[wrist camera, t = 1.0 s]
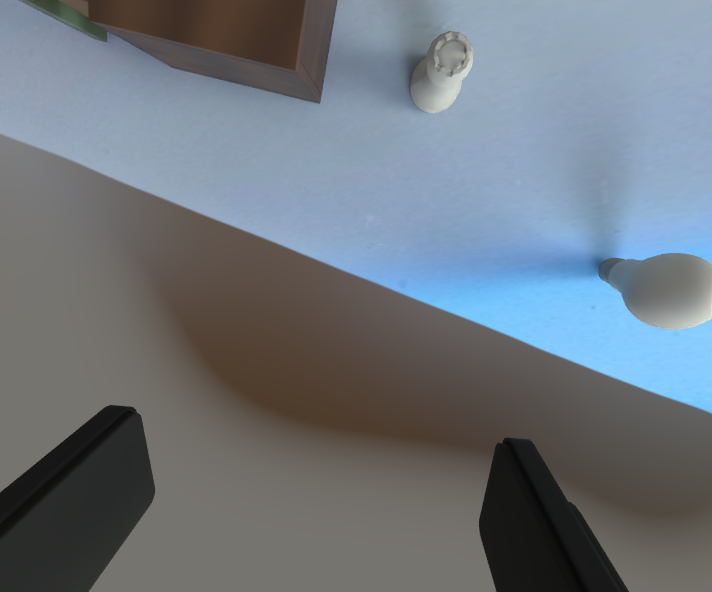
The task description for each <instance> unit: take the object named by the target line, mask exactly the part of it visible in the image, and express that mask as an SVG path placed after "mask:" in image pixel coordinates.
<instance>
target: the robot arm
mask: <svg viewBox="0 0 712 592" xmlns="http://www.w3.org/2000/svg"><path fill="white" fill-rule="evenodd" d="M154 495H155V486H154V480H153V475H152V470H151V465H150V460H149V455H148V449H147V444H146V439H145V434H144V429H143V423H142V418H141V415H140V414H138V413H137V412H136V409H134V407H126V406H115V405H110V406H107V407H105V408H104V409H102V410H101V411H100V412H99V413H97V414H96V415H95V416H94V417H92V418H91V419H90V420H89V421H88V422H86V423H85V424H84V425H83V426H81V427H80V428H79V429H78V430H76V431H75V432H74V433H73V434H72V435H70V436H69V437H68V438H67V439H65V440H64V441H63V442H62V443H60V444H59V445H58V446H57V447H56V448H54V449H53V450H52V451H51V452H49V453H48V454H47V455H46V456H45V457H44V458H42V459H41V460H40V461H38V462H37V463H36V464H35V465H33V466H32V467H31V468H30V469H29V470H27V471H26V472H25V473H24V474H22V475H21V476H20V477H19V478H17V479H16V480H15V481H14V482H13V483H11V484H10V485H9V486H8V487H7V488H5V489H4V490H3V491H2V492H0V592H89V590H90V589H91V587H92V586H93V585H94V583H95V582H96V580H97V579H98V578H99V576H100V575H101V573H102V572H103V571H104V569H105V568H106V566H107V565H108V564H109V562H110V561H111V559H112V558H113V556H114V555H115V554H116V552H117V551H118V550H119V548H120V547H121V545H122V544H123V543H124V541H125V540H126V538H127V537H128V536H129V534H130V533H131V531H132V530H133V529H134V527H135V526H136V524H137V523H138V521H139V520H140V519H141V517H142V516H143V514H144V513H145V512H146V510H147V509H148V507H149V506H150V504H151V503H152V501H153V498H154ZM479 529H480V536H481V540H482V543H483V546H484V550H485V553H486V557H487V560H488V564H489V567H490V571H491V574H492V577H493V581H494V584H495V588H496V591H497V592H629V591H628V589H627V588H626V586H625V585H624V583H623V581H622V580H621V578H620V576H619V575H618V573H617V571H616V570H615V568H614V566H613V565H612V563H611V562H610V560H609V558H608V557H607V555H606V553H605V552H604V550H603V549H602V547H601V545H600V544H599V542H598V540H597V539H596V537H595V536H594V534H593V532H592V531H591V529H590V528H589V526H588V524H587V523H586V521H585V519H584V518H583V516H582V514H581V513H580V512H579V510H578V509H577V508H576V506H575V505H573V504H572V503H571V502H568V501H567V499H566V498H565V496H564V494H563V492H562V491H561V489H560V487H559V486H558V484H557V483H556V481H555V479H554V477H553V476H552V474H551V472H550V471H549V469H548V467H547V466H546V464H545V462H544V461H543V459H542V457H541V456H540V454H539V452H538V451H537V449H536V447H535V446H534V444H533V443H532V441H530V440H529V439H517V438H505V439H504V440H503V443H498V444H497V445H496V447H495V452H494V456H493V461H492V465H491V470H490V474H489V479H488V483H487V488H486V492H485V497H484V501H483V505H482V511H481V515H480V519H479Z"/></svg>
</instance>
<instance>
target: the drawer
mask: <svg viewBox="0 0 712 592" xmlns="http://www.w3.org/2000/svg"><path fill="white" fill-rule="evenodd" d="M19 1H21V2H23V3H25V4H27V5H29V6H31V7H32V8H34V9H36V10H38V11H40V12H42V13H44V14H46V15H48V16H50V17H52V18H54V19H56V20H58V21H60V22H62V23H64V24H66V25H68V26H70V27H72V28H74V29H76V30H78V31H79V32H81V33H83V34H85V35H87V36H89V37H91V38H93V39H96V40H100V41H104V42H107V30H105V29H104V28H102V27H100V26H99V25H96V24H95V23H93V22H91V21H89V16H88V0H19Z"/></svg>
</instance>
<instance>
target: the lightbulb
mask: <svg viewBox="0 0 712 592" xmlns="http://www.w3.org/2000/svg"><path fill="white" fill-rule="evenodd" d="M599 277H600V278H601V279H602V280H604V281H605V282H607V283H609V284H610V285H611V286H612V287H613V288H614V289H616V290H618V291H619V292H620V293H621V294H622V298H623V300H624V303H625V305H626V307H627V308H628V310H629V311H630V312H631V313H632V314H633V315H634V316H635V317H636V318H637V319H639V320H640V321H642V322H644V323H646V324H648V325H651V326H654V327H658V328H663V329H674V330H676V329H685V328H690V327H694V326H697V325H700V324H702V323H704V322H706V321H708V320H710V319H711V318H712V264H711V263H709V262H708V261H706V260H704V259H702V258H700V257H697V256H693V255H689V254H682V253H669V254H662V255H658V256H654V257H651V258H648V259H645V260H635V259H627V260H625V259H620V258H610V259H608V260H606V261H604V262H603V263H602V264H601V266H600V268H599Z"/></svg>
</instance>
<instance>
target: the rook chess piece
mask: <svg viewBox="0 0 712 592" xmlns="http://www.w3.org/2000/svg"><path fill="white" fill-rule="evenodd" d="M473 56H474V55H473V49H472V45H471V43H470V42H469V40H468V38H467V37H466V36H465V35H463V34H462V33H459V32H452V31H449V32H446V33H444V34H441V35H439V36H438V37H437V38H436V39H435V40H434V41H433V42H432V44H431V46H430V48H429V50H428V53H427V57H425V58H424V59H423V60H422V61H421V62H420V63H419V64H418V65H417V67H416V69H415V71H414V73H413V75H412V77H411V83H410V92H411V96H412V99H413V101H414V102H415V104H416V105H417V106H418V108H420V109H422V110H424V111H425V112H431V113H437V112H440V111H443V110H445V109H446V108H448V107H449V106H450V105H451V104H452V103H453V102H454V100H455V98H456V97H457V95H458V93H459V91H460V88H461V82H462V79H463V78H464V77H465V76H467V74H468V72H469V70H470V68H471V67H472V62H473Z"/></svg>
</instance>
